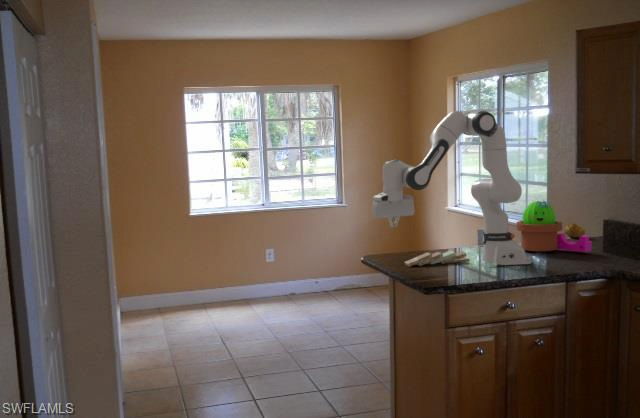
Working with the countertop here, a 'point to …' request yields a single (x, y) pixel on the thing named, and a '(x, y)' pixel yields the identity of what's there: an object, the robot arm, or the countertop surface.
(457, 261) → the domino
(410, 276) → the countertop surface
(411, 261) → the domino far end
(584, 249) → the magenta tape dispenser
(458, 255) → the domino
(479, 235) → the medicine box
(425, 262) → the domino
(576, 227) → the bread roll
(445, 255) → the sage domino
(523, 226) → the potted cactus
